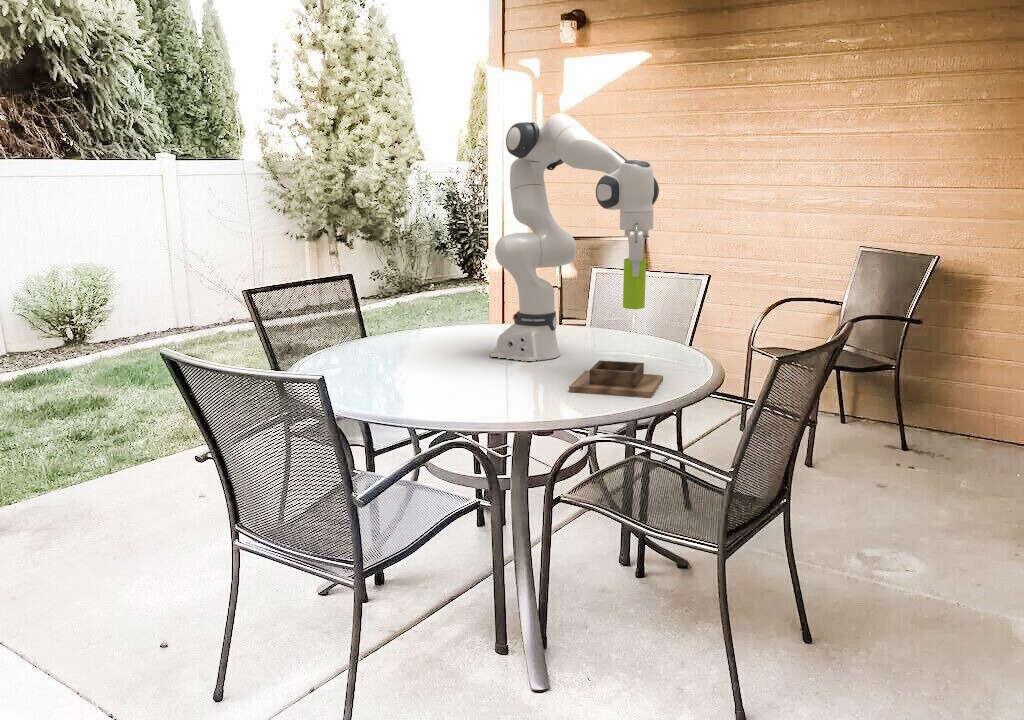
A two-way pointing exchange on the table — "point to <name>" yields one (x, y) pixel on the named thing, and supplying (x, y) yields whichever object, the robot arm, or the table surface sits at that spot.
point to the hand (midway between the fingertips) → (635, 274)
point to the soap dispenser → (634, 285)
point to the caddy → (617, 380)
